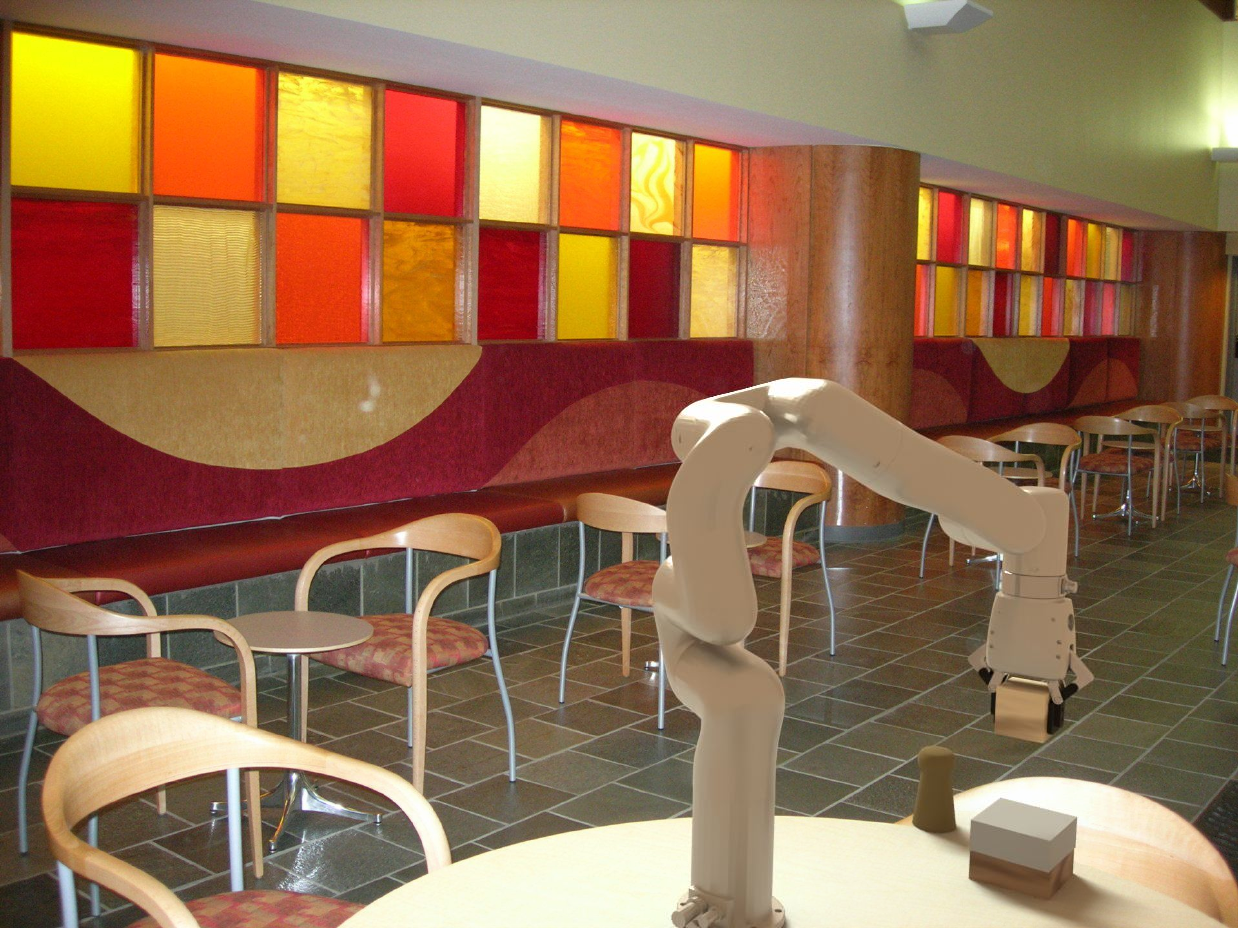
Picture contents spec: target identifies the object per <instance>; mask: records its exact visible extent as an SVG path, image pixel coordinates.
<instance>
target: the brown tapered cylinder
mask: <svg viewBox="0 0 1238 928" xmlns="http://www.w3.org/2000/svg"><path fill="white" fill-rule="evenodd" d="M956 762H957V759H956V756H955V753H954V752H953V751H952V750H951V749H949V748H947V747H944V746H938V745H927V746H925V747H922V748H921V749H920V750H919V751H918V754H917V765H918V767H919V769H920V776H919V781H918V785H917V786H918V787H917V792H916V797H915V803H914V808H913V809H914V810H913V815H912V819H911V823H912V826H914V827H915V828H917V829H919V830H921V831H924V832H929V833H936V834H938V833H939V834H944V833H945V834H946V833H950V832H954V830H956V829H957V824H956V823H957V821H956V811H955V803H954V802H955V799H954V790H953V789H954V788H953V779H952V778H953V777H952V773H953V772H954V771H955V768H956Z"/></svg>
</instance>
